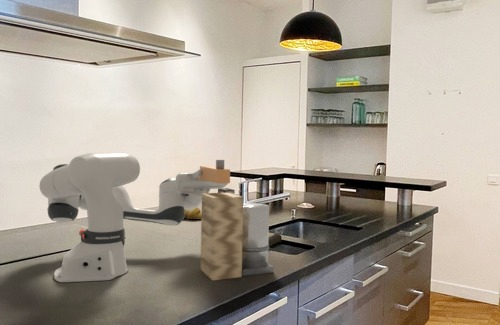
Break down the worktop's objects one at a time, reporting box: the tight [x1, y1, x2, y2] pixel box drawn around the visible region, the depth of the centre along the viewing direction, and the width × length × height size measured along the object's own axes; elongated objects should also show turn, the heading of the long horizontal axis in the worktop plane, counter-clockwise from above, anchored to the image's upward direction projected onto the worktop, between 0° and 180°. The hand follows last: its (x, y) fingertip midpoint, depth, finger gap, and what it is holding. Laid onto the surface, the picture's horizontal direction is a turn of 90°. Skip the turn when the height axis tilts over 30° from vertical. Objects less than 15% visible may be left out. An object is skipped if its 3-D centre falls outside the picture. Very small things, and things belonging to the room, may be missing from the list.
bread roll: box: [184, 207, 202, 220], centre depth 241 cm, size 13×10×8 cm
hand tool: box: [268, 233, 282, 247], centre depth 183 cm, size 19×4×5 cm, turn 151°
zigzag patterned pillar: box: [200, 192, 244, 281], centre depth 144 cm, size 10×12×26 cm
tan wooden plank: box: [199, 159, 231, 184], centre depth 152 cm, size 4×19×8 cm, turn 24°
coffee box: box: [217, 187, 235, 194], centre depth 250 cm, size 9×6×16 cm
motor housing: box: [242, 202, 274, 276], centre depth 149 cm, size 11×11×22 cm
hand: (208, 171), depth 157 cm, fingers closed on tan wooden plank, 4 cm apart
